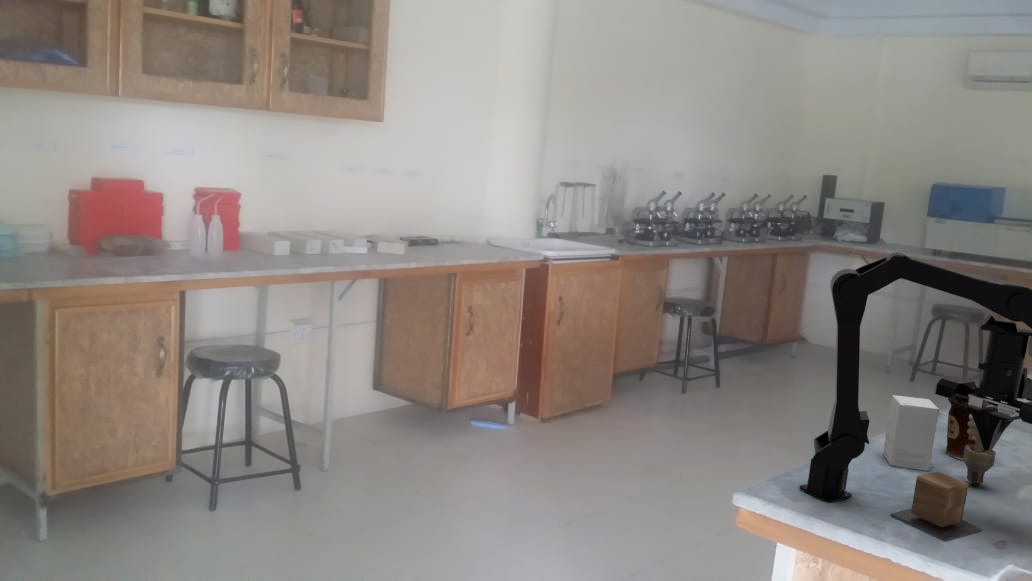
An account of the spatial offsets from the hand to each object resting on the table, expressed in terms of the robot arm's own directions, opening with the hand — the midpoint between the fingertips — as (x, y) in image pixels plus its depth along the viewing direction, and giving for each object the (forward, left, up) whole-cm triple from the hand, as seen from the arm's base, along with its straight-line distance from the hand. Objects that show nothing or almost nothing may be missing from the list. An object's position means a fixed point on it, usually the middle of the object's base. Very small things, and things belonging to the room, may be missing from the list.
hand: (987, 450), depth 148 cm
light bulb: (+16, +10, -13) cm, 23 cm away
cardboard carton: (-8, +2, -12) cm, 14 cm away
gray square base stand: (-8, +2, -12) cm, 15 cm away
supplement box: (+14, +23, -13) cm, 30 cm away
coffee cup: (+30, +21, -13) cm, 39 cm away
